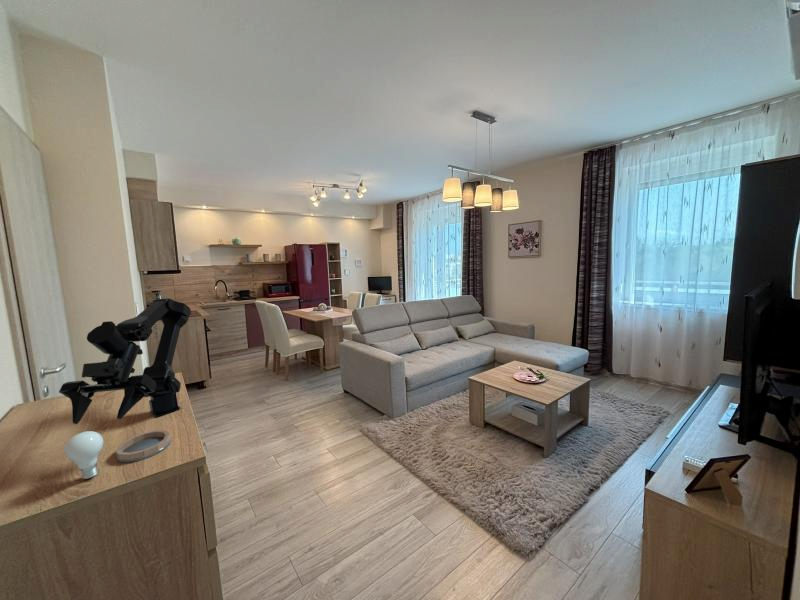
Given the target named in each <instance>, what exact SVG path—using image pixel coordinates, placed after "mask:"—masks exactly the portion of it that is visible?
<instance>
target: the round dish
mask: <svg viewBox="0 0 800 600" xmlns="http://www.w3.org/2000/svg"><path fill="white" fill-rule="evenodd" d="M170 434H171V433H170V432H169V431H167V430H164V429H163V430H161V429H160V430H159V429H158V430H157V429H156V430H151V431H146V432H142V433H140V434H137V435H134V436H133V437H130V438H128V439H127V440H125V441H123V442H122V443H120V444H119V445H118V447H117V448H116V449H115V453H116V454H115V455H116V460H117V461H118V462H119V463H125V464H126V463H135V462H140V461H142V460H146V459H149V458H151V457H153V456H156V455H157V454H160V453H161V452H163V451H164V450H166V449H167V448H168V447H169V446H170V444H171V442H172V439H171V435H170Z"/></svg>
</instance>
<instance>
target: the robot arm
mask: <svg viewBox="0 0 800 600" xmlns="http://www.w3.org/2000/svg"><path fill="white" fill-rule="evenodd" d="M191 315H192V314H191V308H190V306H188V305H187V304H186V303H183V302H180V301H177V300H176V301H175V300H174V299H172V298H168V297H167V298H156V299H154V300H152V303H151V304H149V306H147V307H146V308H145V309H143V311H141V312H140V313H139V314H138V315H136V316H134V317H132V318H129V319H125V320H123V321H121V322H118V323H117V324H116V323H114V322H113V321H110V320H109V321H102V322H101V325H98V326H96V327H95V328H93V329H92V330H90V331H89V332H88V333H87V335H86V339H87V342H89V343H90V344H91V345H92V346H94V347H95V348H97V350H99V351H100V352H102V353H103V354H106V355H108V356H107V358H106V359H107V360H106V361H102V362H100V361H99V362H90V363H83V366H82V372H81V378H84V379H85V378H90V379H91V381H92V382H94V383H95V384H89V383H88V382H86V381H84V380H75V381H74V380H73V381H67V382H64V383H62V385H61V386H60V389H59V391H58V393H60V394H61V395H63V396H64V397H66V398H68V399H69V400H70V402H71V411H72V416H71V417H72V424H74V425H78V424H79V423H80V421H81V420H82V418H83V417H84V415H85V413H86V412H87V410H88V408H90V405H91V403H92V402H93V399H92V397H94V396H95V394H96V393H102V392H110V391H111V392H112V391H114V392H115V391H121V390H122V391H123V393H124V396H123V398H122V400H121V403H120V406H119V408H118V411H117V414H116V419H118V420H121V419H123V418H124V416H126V414H128V412H129V411H131V409H132V408H133V407H135V405H136V404H137V403H139V402H140V401H141V400H142V399H143V398H149V397H150V400H148V403H149V411H150V413H151V414H152V415H155V417H157V418H158V417H162V416H165V415H167V414H170V413H172V412H176V411H178V410H181V406H179V405H178V404H179V402H178V397H177V393H179V392H180V391H181V387H182V386H181V381H180V380H178V379H177V378H176V372H175V371H174V369H173V367H172V364H173V360H174V356H175V352H176V348H177V343H178V340H179V335H180V331H181V328H183V327H184V326H185V325H186V324H187V323H188V321H189V318H190V316H191ZM160 320H161V322H162V324H163V328H162V332H161V335H160V337H159V338H160V339H159V343H158V346H157V350H156V354H155V355H154V361H153V364H151V365H150V366H145V367H144V369H143V372H142V374H139V375H138V374H137V375H131V374H134V373H135V371H136V369H135V368H134V364H135V362H136V360H137V357H138V355H143V354H144V352H143V350H142V349H141V346H140V345H138V344H136V343H137V342H145V341H148V339H150V337H151V335H152V334H153V326H155V325H156V323H157V322H158V321H160Z"/></svg>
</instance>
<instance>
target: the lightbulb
mask: <svg viewBox="0 0 800 600" xmlns="http://www.w3.org/2000/svg"><path fill="white" fill-rule="evenodd" d="M103 447H104V438H103V436H102V434H100V433H99V432H98V431H97V432H96V431H91V430H86V431H82V432H79V433H77V434H75V435H74V436H72V437H71V438H70V439H69V440H68V441H67V442H66V444H65V446H64V451H63V452H64V455H65V457H66V459H68V461H71V462H74V464H76V465H77V467H78V468H79V469H80V472H81V478H82V480H83V479H84V480H85V479H87V480H88V479H92V478H93V477H94V476H96V475H98V473H99V469H98V463H97V462H98V461H99V460H98V458H99V455H100V453H101V451H102V450H103Z"/></svg>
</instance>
